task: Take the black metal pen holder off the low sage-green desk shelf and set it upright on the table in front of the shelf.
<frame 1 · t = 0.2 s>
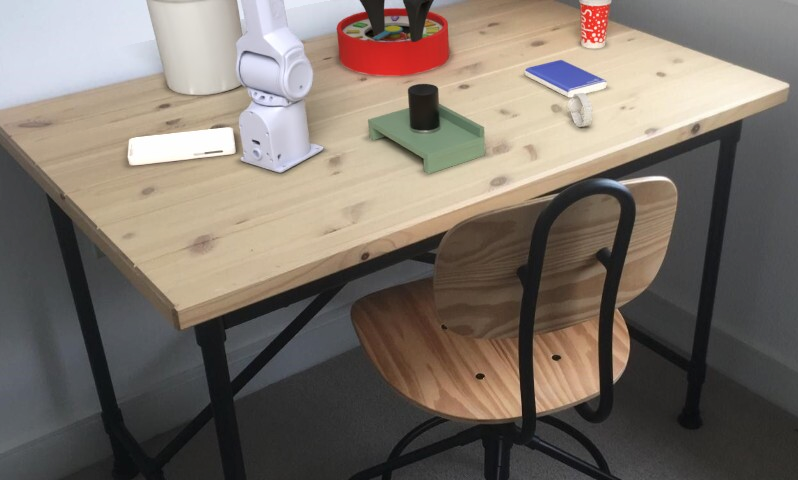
hand: (397, 36, 155), 10 cm above the table, tool pointing down, fingers open, 7 cm apart
wristwatch: (580, 126, 151), on the table
holder: (425, 127, 142), point 3 cm above the table, touching shelf
phone case: (183, 151, 143), on the table
beverage cup: (593, 45, 182), on the table
hard drive: (565, 83, 166), on the table
utensil holder: (207, 82, 166), on the table
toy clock: (394, 57, 177), on the table
shelf: (426, 146, 144), on the table
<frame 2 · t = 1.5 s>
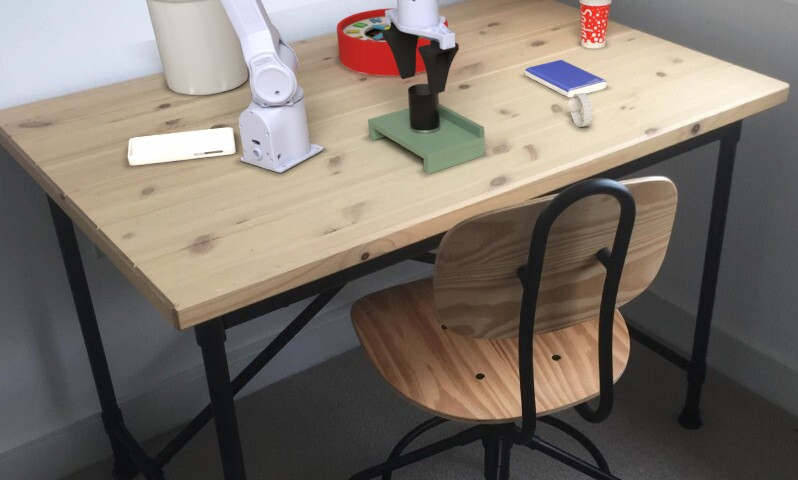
hand: (422, 84, 139), 9 cm above the table, tool pointing down, fingers open, 7 cm apart
nothing on the table moved.
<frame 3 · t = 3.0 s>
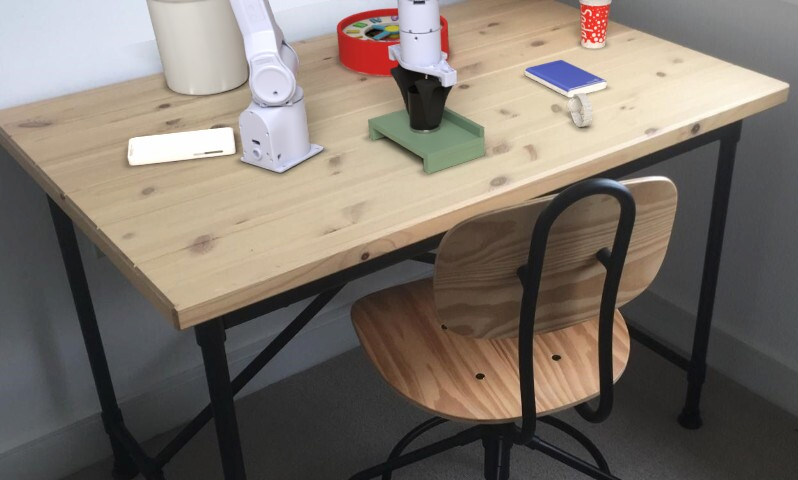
hand: (424, 119, 142), 4 cm above the table, tool pointing down, fingers closed on holder, 4 cm apart
holder: (425, 127, 142), point 3 cm above the table, touching gripper, shelf
everything else where it was.
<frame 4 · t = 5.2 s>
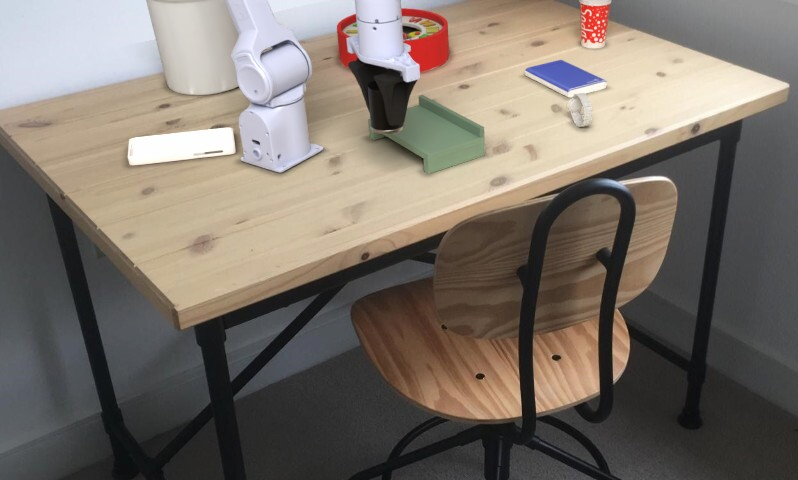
hand: (386, 117, 129), 10 cm above the table, tool pointing down, fingers closed on holder, 4 cm apart
holder: (387, 127, 130), point 8 cm above the table, touching gripper
everything else where it was.
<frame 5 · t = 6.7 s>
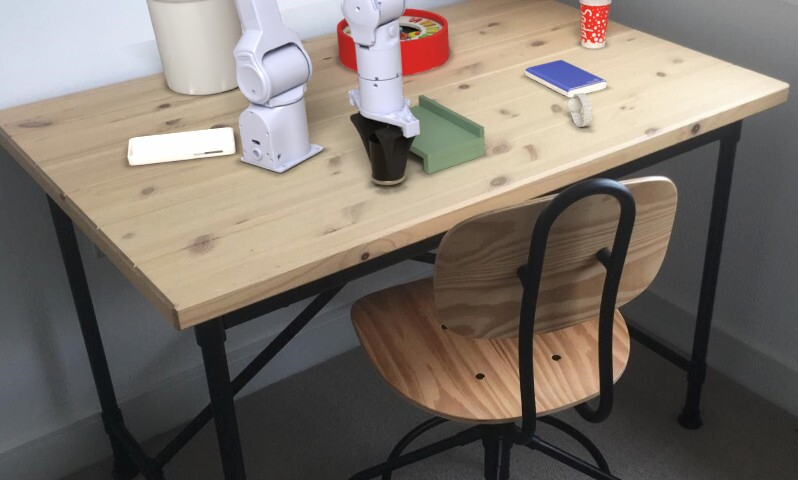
hand: (387, 168, 132), 2 cm above the table, tool pointing down, fingers closed on holder, 4 cm apart
holder: (388, 177, 133), point 1 cm above the table, touching gripper
everything else where it was.
when the fingers open (1 cm above the table, at t = 7.5 s): holder stays where it is, on the table.
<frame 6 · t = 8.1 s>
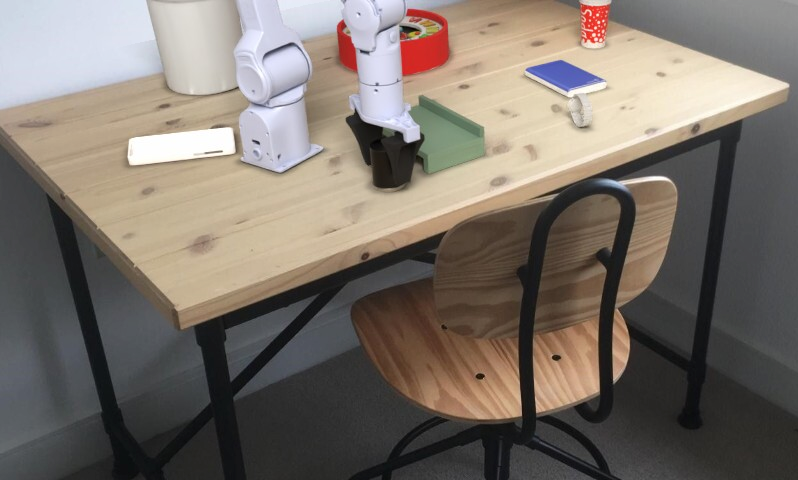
hand: (387, 173, 133), 2 cm above the table, tool pointing down, fingers open, 7 cm apart
holder: (389, 184, 134), on the table
everything else where it was.
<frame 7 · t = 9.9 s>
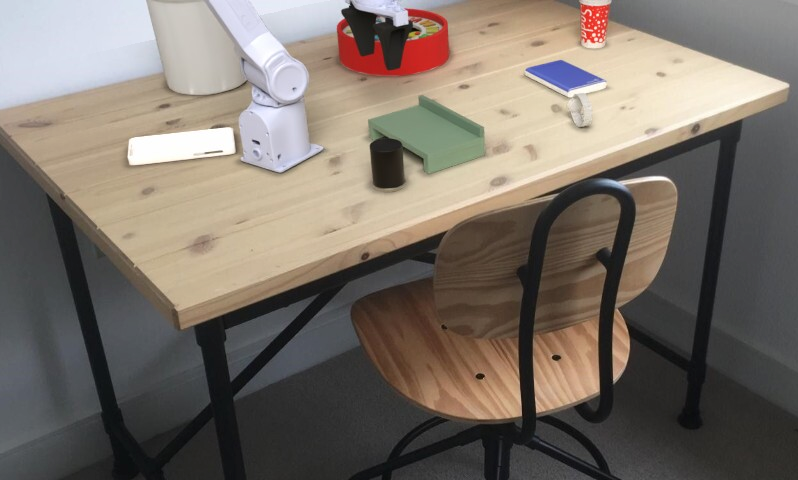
hand: (380, 61, 144), 10 cm above the table, tool pointing down, fingers open, 7 cm apart
nothing on the table moved.
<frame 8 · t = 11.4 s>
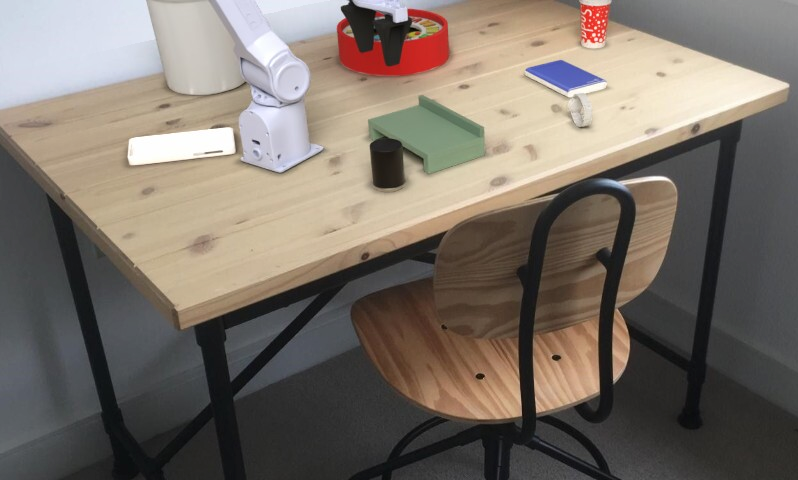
hand: (379, 57, 146), 10 cm above the table, tool pointing down, fingers open, 7 cm apart
nothing on the table moved.
at the end: holder 0.0 cm from the target spot, on the table; holder tilted 0°; holder touching table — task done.
